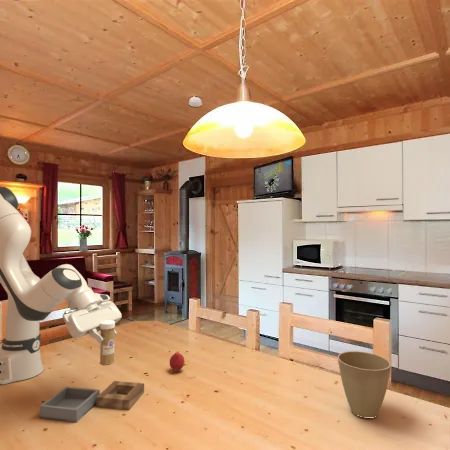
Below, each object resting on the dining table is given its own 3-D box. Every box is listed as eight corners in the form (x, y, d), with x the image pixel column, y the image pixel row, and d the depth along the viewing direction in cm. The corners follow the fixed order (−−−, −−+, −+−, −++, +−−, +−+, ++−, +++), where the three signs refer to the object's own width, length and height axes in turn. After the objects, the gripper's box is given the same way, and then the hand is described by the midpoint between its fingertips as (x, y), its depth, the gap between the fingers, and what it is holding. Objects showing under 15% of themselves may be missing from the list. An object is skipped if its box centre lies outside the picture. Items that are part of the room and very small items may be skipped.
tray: (39, 418, 95) (39, 406, 95) (66, 397, 107) (66, 386, 107) (76, 422, 93) (76, 410, 93) (99, 400, 105) (99, 389, 105)
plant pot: (399, 413, 98) (398, 360, 99) (377, 433, 88) (377, 375, 89) (352, 394, 109) (352, 347, 110) (328, 410, 100) (328, 358, 100)
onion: (181, 375, 123) (181, 354, 123) (167, 374, 124) (167, 353, 124) (186, 369, 129) (186, 348, 129) (172, 367, 130) (172, 347, 130)
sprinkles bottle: (108, 367, 102) (108, 324, 102) (96, 364, 104) (96, 322, 104) (117, 361, 107) (117, 320, 107) (106, 359, 108) (106, 319, 108)
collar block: (96, 406, 101) (96, 397, 101) (114, 389, 112) (114, 380, 112) (129, 410, 99) (129, 400, 100) (144, 392, 110) (144, 383, 110)
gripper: (65, 306, 98) (90, 342, 95) (111, 294, 117) (133, 324, 114) (54, 319, 100) (78, 356, 96) (101, 305, 119) (122, 335, 115)
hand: (108, 338), depth 105 cm, fingers closed on sprinkles bottle, 4 cm apart
